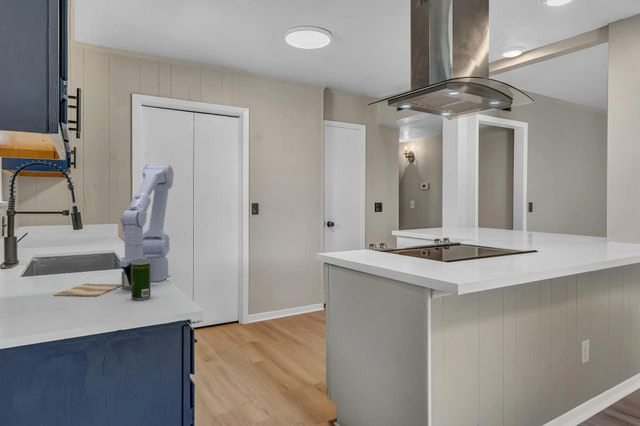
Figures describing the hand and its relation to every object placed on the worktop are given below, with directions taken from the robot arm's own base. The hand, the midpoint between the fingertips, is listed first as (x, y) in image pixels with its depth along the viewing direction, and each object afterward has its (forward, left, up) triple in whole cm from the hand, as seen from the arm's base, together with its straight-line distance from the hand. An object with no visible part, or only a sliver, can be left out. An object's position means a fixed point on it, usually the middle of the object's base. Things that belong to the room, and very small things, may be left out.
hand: (134, 284), depth 138 cm
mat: (+4, -13, -1) cm, 14 cm away
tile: (0, 0, -2) cm, 2 cm away
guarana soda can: (+13, +9, -2) cm, 16 cm away
